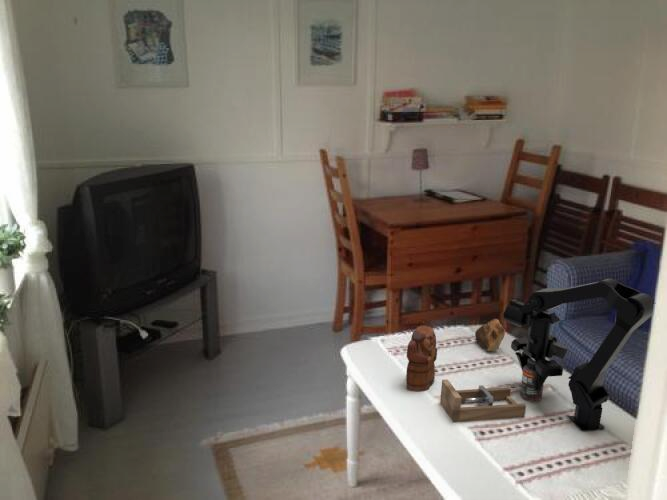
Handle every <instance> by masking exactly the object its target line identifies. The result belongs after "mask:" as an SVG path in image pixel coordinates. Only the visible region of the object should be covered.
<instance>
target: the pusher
mask: <svg viewBox="0 0 667 500" xmlns="http://www.w3.org/2000/svg"><path fill="white" fill-rule="evenodd" d="M477 389H478V398H465V402H478V403H477V404H478V405H479V406H491V405H493V404H494V402H493V397H492V395H491V394H490V393H489V392H488V391H487V390H486V389H487V388H486V387H485V386H484V385H478V388H477Z"/></svg>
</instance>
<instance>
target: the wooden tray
mask: <svg viewBox="0 0 667 500" xmlns="http://www.w3.org/2000/svg"><path fill="white" fill-rule="evenodd" d="M486 390H487V391H488V392H489V393H490V394H491V395H492V397H493V403H494V402H495V403H496V402H506V404H494V405H491V406H480V405H479V406H478V405H477V406H476V405H475V406H465V407H464V406H463V407H462V404H463V405H464V404H478V402H465V398H478V388H476V389H475V388H473V389H460V390H459V389H458V390H457V389H456V388H455V387H454V386H453V384H452V383H451V381H450V379H441V389H440V400H439V403H440V405H441V406H442V408H443V409H444V411H445V412H446V414H447V415H448V416H449V419H450V420H451V421H452V423H461V422H476V421H493V420H505V419H507V420H508V419H521V418H522V419H523V418H525V417H526V409H527V405H526V404H525V403H522V402H521V403H517V402H516V400H514V399H513V397H512V396H511V391H512V389H511V387H509V386H507V387H491V388H486Z"/></svg>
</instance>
